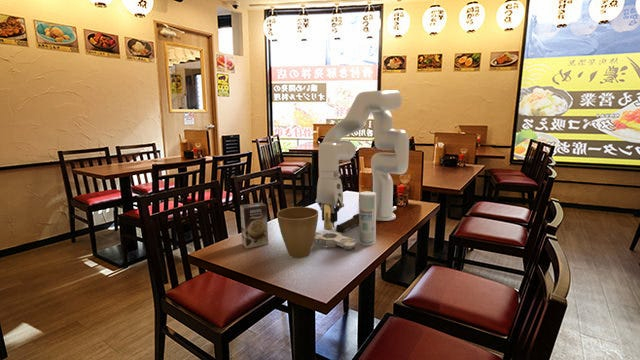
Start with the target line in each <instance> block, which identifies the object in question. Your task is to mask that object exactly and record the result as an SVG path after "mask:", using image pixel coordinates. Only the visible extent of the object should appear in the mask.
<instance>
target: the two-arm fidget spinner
mask: <svg viewBox="0 0 640 360" xmlns="http://www.w3.org/2000/svg"><path fill="white" fill-rule="evenodd" d="M317 242H318V246H321V247H323V248H336V246H337V247H341V250H343V251H353V250H354V249H355V247H356V244H357V240H356V239H354V238H351V237H349V236H344V235H342V233H338V232H337V231H325V232H319V231H316V233H315V237H314V241H313V243H317ZM326 246H327V247H326Z"/></svg>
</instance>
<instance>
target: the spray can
mask: <svg viewBox="0 0 640 360" xmlns="http://www.w3.org/2000/svg"><path fill="white" fill-rule="evenodd" d="M358 193H359V194H358V197H359V198H358V201H359V202H358V203H359V204H358V209H359V211H358V212H359V213H358V214H359V225H358V226H359V227H358V229H359V244H361V245H363V246H374V245H375V244H376V237H377V235H376V233H377V232H376V229H377V227H376V226H377V220H376V193H375V192H373V191H370V190H369V191H366V190H365V191H360V192H358Z"/></svg>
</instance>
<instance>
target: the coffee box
mask: <svg viewBox="0 0 640 360" xmlns="http://www.w3.org/2000/svg"><path fill="white" fill-rule="evenodd" d="M239 206H240V207H239V209H240V222H241V223H240V226H241V243H242V246H244V247H245V249H251V248H256V247H261V246H262V247H263V246H266V245H269V233H268V210H267V208H268V207H267V205H266V204H265V203H264V202H254V203H253V202H252V203H247V204H240V205H239Z"/></svg>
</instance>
